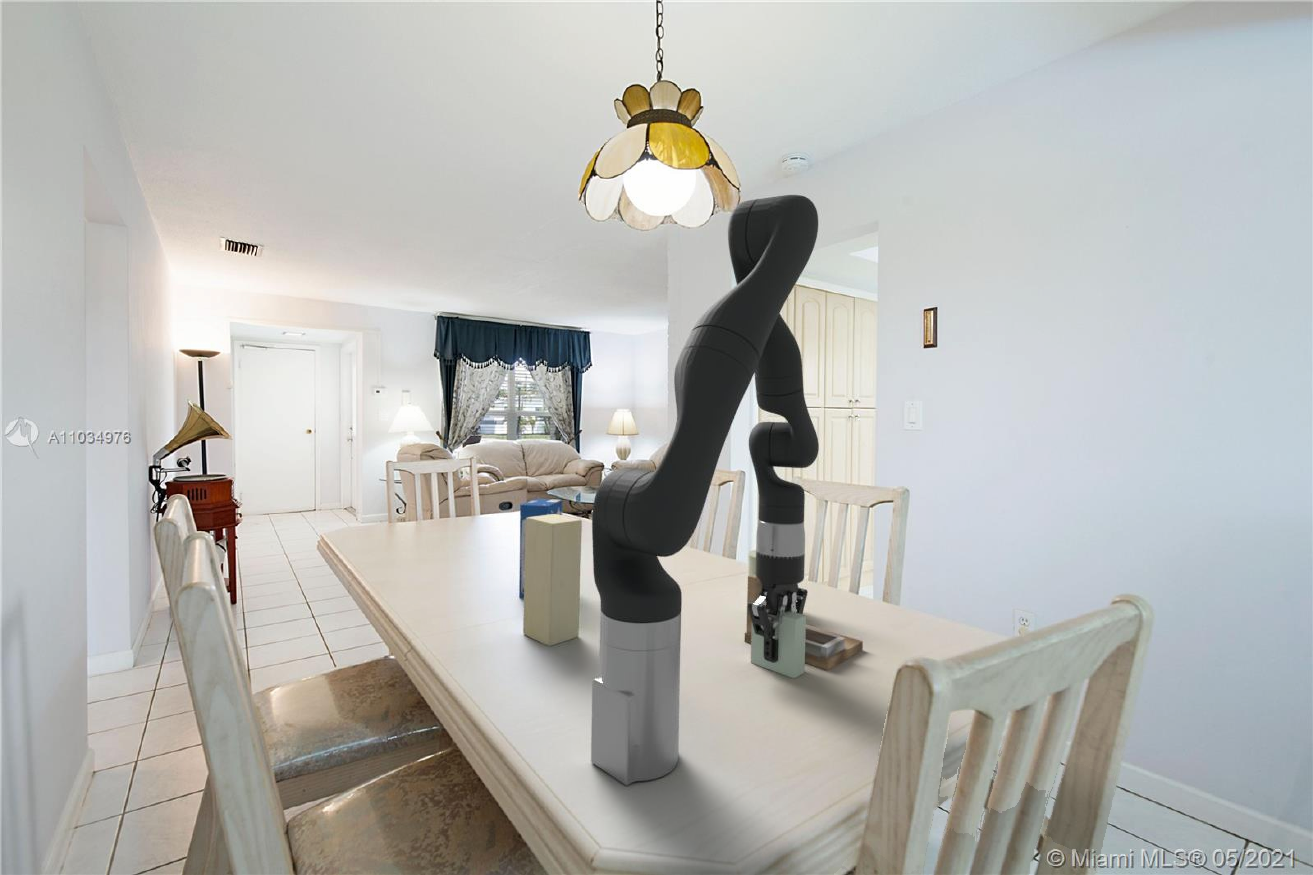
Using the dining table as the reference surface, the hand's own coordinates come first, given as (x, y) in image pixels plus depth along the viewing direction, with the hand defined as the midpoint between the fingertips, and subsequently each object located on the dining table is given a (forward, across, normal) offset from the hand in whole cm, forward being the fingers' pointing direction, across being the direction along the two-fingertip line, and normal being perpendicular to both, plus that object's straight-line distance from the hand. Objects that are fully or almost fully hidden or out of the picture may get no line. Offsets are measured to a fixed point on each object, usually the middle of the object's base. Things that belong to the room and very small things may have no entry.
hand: (777, 657), depth 93 cm
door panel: (+2, 0, 0) cm, 2 cm away
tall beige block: (+2, -18, +35) cm, 39 cm away
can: (+2, +23, +17) cm, 29 cm away
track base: (+2, +11, +2) cm, 11 cm away
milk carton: (+2, -5, +58) cm, 58 cm away
